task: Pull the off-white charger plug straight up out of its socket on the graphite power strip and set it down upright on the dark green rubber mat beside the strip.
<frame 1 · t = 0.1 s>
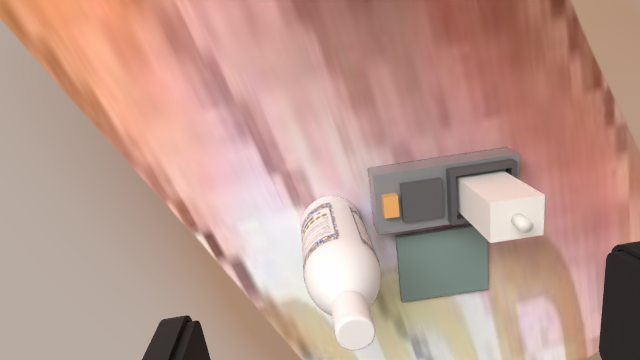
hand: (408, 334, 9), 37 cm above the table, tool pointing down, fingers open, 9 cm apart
charger: (479, 190, 45), point 3 cm above the table, touching power strip
power strip: (438, 186, 48), on the table
mat: (442, 262, 51), on the table
bath foam: (330, 221, 49), on the table
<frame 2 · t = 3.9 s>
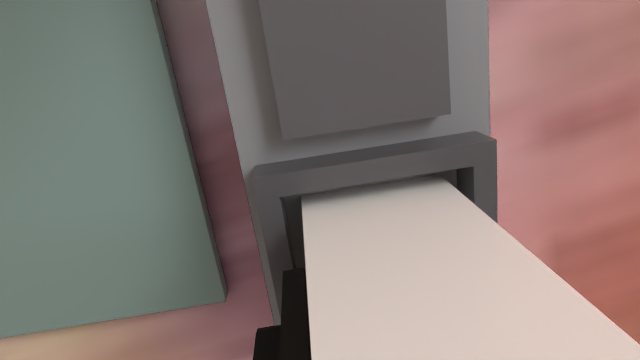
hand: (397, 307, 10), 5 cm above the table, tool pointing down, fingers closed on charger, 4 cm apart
charger: (379, 262, 13), point 3 cm above the table, touching gripper, power strip
power strip: (351, 131, 14), on the table
mat: (63, 176, 14), on the table
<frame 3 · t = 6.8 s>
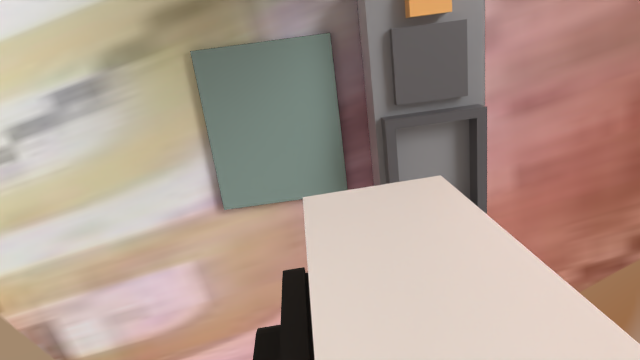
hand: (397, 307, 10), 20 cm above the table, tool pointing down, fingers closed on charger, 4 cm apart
charger: (380, 263, 13), point 18 cm above the table, touching gripper
power strip: (416, 105, 29), on the table
mat: (274, 124, 29), on the table
when the fingers open (4 cm above the table, at t = 10.2 s): charger drops 2 cm, resting on mat.
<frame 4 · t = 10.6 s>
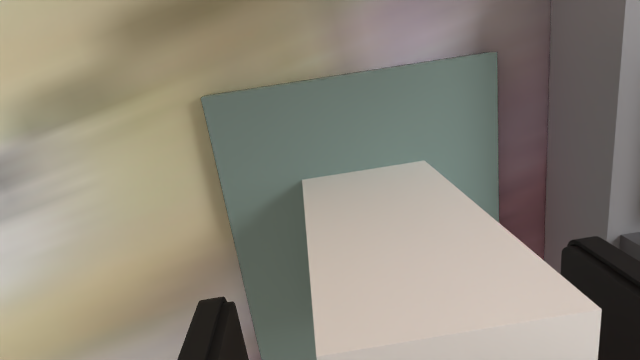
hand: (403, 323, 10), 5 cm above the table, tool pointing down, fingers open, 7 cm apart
charger: (371, 239, 14), point 1 cm above the table, touching mat
mat: (366, 231, 15), on the table
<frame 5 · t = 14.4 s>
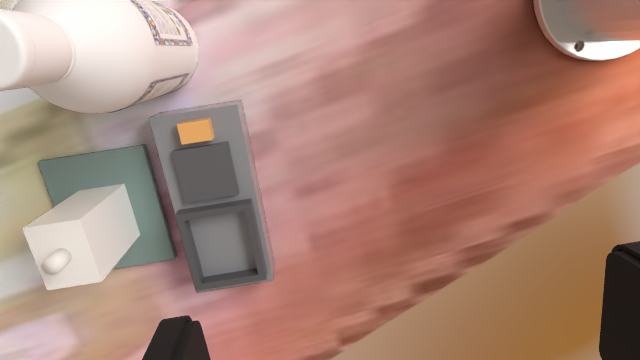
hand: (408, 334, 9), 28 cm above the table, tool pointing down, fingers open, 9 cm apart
charger: (110, 213, 37), point 1 cm above the table, touching mat
power strip: (221, 193, 38), on the table
mat: (112, 210, 37), on the table
bath foam: (157, 49, 34), on the table
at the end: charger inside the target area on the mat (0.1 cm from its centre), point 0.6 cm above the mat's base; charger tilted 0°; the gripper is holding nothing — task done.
